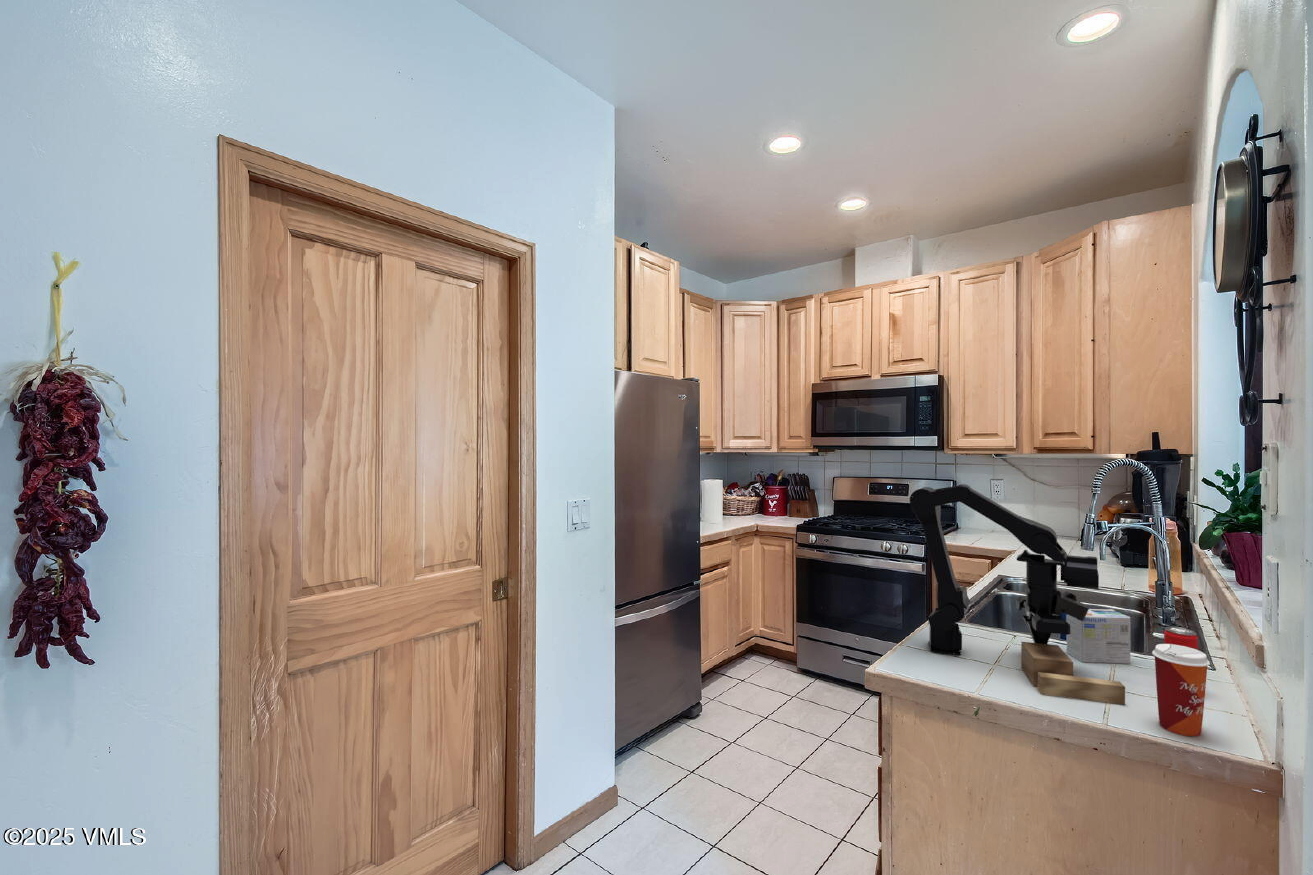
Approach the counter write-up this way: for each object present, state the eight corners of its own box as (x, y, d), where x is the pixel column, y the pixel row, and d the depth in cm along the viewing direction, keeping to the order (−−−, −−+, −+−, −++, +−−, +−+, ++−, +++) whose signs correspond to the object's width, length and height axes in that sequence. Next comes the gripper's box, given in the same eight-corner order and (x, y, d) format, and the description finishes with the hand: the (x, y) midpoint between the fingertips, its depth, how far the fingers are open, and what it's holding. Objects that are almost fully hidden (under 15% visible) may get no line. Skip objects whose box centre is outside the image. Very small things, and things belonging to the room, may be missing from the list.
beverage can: (1190, 696, 118) (1190, 636, 118) (1158, 686, 123) (1159, 628, 123) (1202, 691, 120) (1202, 632, 120) (1170, 681, 125) (1171, 625, 125)
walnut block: (1033, 686, 123) (1033, 657, 123) (1021, 668, 132) (1021, 641, 132) (1073, 691, 121) (1073, 662, 120) (1057, 672, 130) (1057, 645, 130)
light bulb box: (1112, 653, 141) (1112, 608, 141) (1132, 664, 134) (1132, 617, 134) (1064, 652, 142) (1064, 607, 142) (1081, 663, 135) (1082, 615, 135)
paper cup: (1194, 743, 100) (1195, 661, 100) (1142, 723, 107) (1142, 646, 107) (1219, 734, 103) (1220, 654, 103) (1166, 714, 111) (1167, 640, 110)
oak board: (1041, 694, 119) (1041, 676, 119) (1037, 689, 122) (1037, 672, 122) (1125, 704, 115) (1125, 686, 115) (1119, 699, 117) (1120, 681, 117)
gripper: (1100, 597, 121) (1099, 673, 121) (1070, 575, 138) (1069, 642, 138) (1037, 592, 124) (1036, 666, 124) (1015, 572, 142) (1015, 636, 142)
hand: (1041, 652), depth 132 cm, fingers closed
